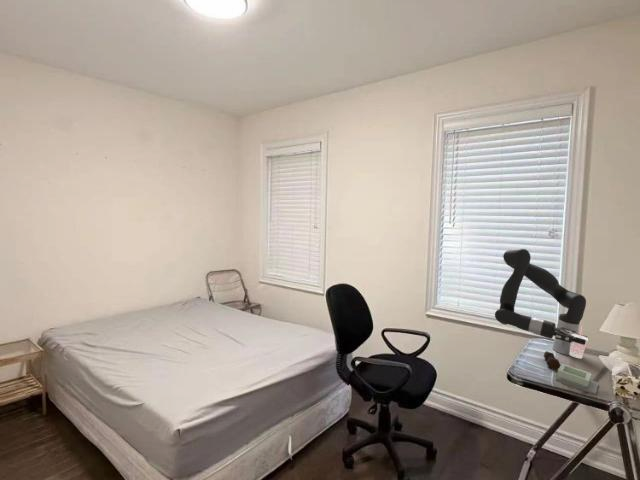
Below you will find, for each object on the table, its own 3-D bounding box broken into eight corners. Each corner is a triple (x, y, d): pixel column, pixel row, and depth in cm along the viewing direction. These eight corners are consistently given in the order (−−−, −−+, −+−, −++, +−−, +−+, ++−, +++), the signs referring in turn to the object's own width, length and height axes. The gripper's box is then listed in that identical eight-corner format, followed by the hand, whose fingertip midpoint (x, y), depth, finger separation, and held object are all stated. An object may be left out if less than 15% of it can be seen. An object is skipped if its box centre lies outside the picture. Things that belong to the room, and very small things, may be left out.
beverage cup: (587, 359, 149) (594, 328, 147) (576, 359, 148) (583, 328, 146) (574, 352, 155) (581, 323, 153) (563, 352, 154) (570, 323, 152)
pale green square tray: (560, 371, 161) (562, 362, 161) (598, 384, 152) (600, 375, 151) (555, 380, 151) (557, 371, 150) (595, 395, 141) (597, 385, 141)
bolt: (548, 361, 176) (554, 372, 162) (539, 354, 177) (544, 364, 164) (556, 353, 174) (563, 364, 161) (547, 346, 176) (553, 356, 162)
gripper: (540, 323, 154) (586, 336, 143) (546, 317, 165) (589, 329, 153) (536, 338, 155) (582, 353, 144) (543, 332, 166) (586, 345, 154)
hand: (586, 340), depth 149 cm, fingers closed on beverage cup, 6 cm apart
